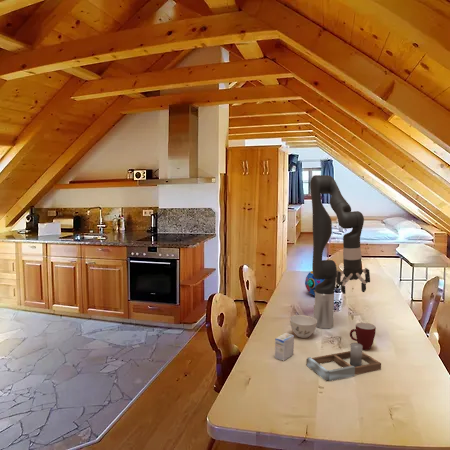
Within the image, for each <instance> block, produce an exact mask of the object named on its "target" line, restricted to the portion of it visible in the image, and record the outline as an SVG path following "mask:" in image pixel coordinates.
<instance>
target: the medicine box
mask: <svg viewBox="0 0 450 450" xmlns="http://www.w3.org/2000/svg"><path fill="white" fill-rule="evenodd" d="M274 340H275V341H274V359H276V358H277V359H276V360H278V359H279V361H281V360H283V361H282V362H285V361H286V360H288V359H289V358H290V357H292V356H294V347H295V346H294V345H295V335H293V334H292V333H287V332H284V333H283V334H281V335H279V336H277V337H276V338H275V339H274ZM287 358H288V359H287ZM284 360H285V361H284Z"/></svg>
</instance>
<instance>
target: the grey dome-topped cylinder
mask: <svg viewBox="0 0 450 450" xmlns="http://www.w3.org/2000/svg"><path fill="white" fill-rule="evenodd" d="M362 348H363V346H362V345H361V344H359V343H357V342H352V343H351V344H350V350H349V351H350V358H349V364H350V365H352V366H354V367H357V366H362V365H363V360H362V352H363V349H362Z"/></svg>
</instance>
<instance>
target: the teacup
mask: <svg viewBox="0 0 450 450" xmlns="http://www.w3.org/2000/svg"><path fill="white" fill-rule="evenodd" d="M289 324H290V327H291V330H292V332H293V333H294V334H295V336H297V338H298V337H299V338H301V339H307V338H309V337H310V336H311V335H312V334H314V332H315V330H316V328H317V327H316V325H317V320H316V319H315V318H313V317H312V316H310V315H301V314H300V315H299V314H294V315H291V316H290V317H289Z"/></svg>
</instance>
